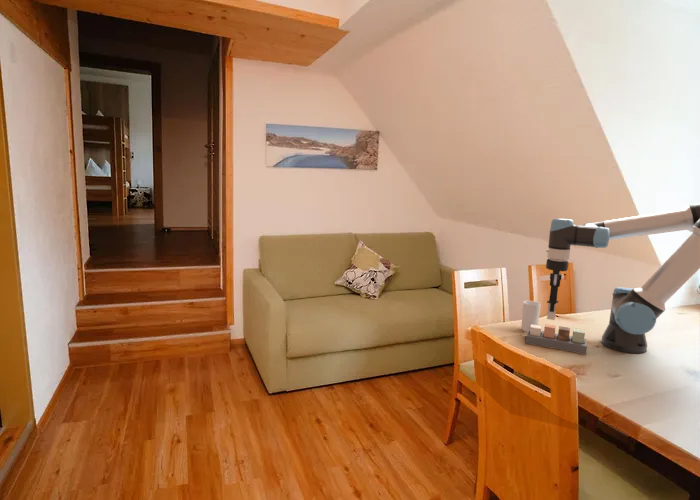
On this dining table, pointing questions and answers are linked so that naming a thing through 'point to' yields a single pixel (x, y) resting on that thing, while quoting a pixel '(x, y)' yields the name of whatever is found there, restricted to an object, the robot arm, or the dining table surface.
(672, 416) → the dining table surface
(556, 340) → the grey slotted rack
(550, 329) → the key terracotta
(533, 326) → the key ivory
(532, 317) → the mug
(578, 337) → the key sage
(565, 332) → the key walnut
